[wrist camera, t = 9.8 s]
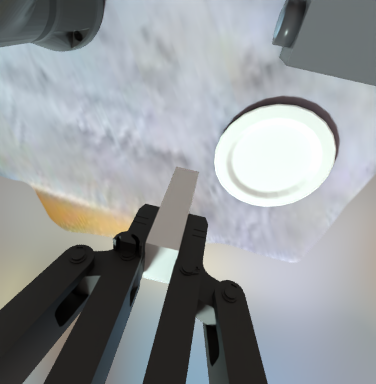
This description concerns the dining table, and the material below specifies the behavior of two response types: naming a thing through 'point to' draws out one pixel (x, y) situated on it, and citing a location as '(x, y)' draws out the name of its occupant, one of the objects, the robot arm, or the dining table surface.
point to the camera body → (329, 37)
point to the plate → (275, 155)
